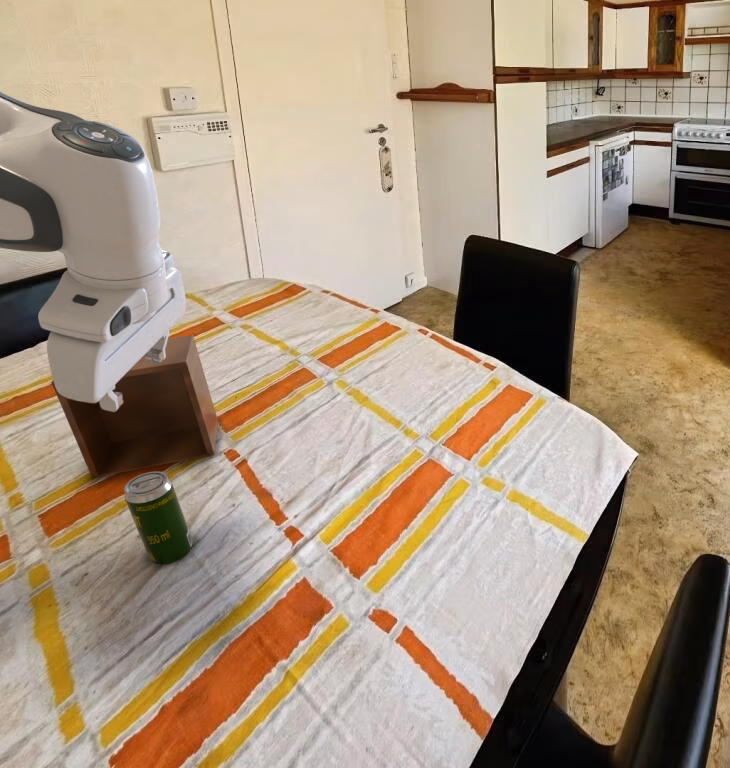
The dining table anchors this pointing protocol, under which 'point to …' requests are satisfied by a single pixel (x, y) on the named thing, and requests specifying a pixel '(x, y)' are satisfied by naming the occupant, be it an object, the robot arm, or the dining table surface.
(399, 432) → the dining table surface
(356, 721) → the dining table surface
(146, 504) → the beer can
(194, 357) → the cupboard
